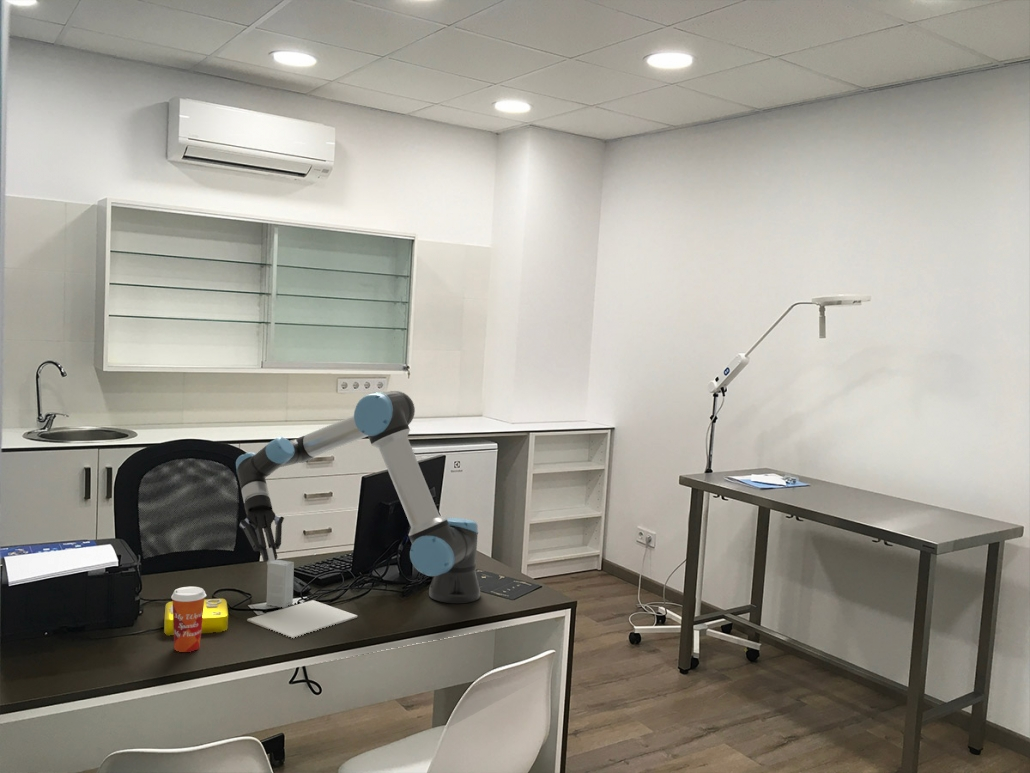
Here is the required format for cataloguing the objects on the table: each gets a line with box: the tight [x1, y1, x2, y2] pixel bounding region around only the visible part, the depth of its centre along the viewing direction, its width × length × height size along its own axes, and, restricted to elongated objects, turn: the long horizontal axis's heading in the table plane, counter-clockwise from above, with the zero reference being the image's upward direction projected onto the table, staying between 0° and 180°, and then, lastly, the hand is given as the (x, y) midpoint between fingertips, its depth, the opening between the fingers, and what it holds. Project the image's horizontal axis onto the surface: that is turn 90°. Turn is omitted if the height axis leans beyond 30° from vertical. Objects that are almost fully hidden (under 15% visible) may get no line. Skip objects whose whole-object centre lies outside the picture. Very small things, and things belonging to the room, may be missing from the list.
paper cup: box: [170, 586, 207, 653], centre depth 201 cm, size 8×8×14 cm
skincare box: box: [266, 559, 295, 609], centre depth 235 cm, size 6×4×12 cm
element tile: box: [163, 598, 229, 636], centre depth 218 cm, size 15×15×5 cm
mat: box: [246, 599, 358, 639], centre depth 226 cm, size 18×22×1 cm
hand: (272, 570), depth 240 cm, fingers closed
